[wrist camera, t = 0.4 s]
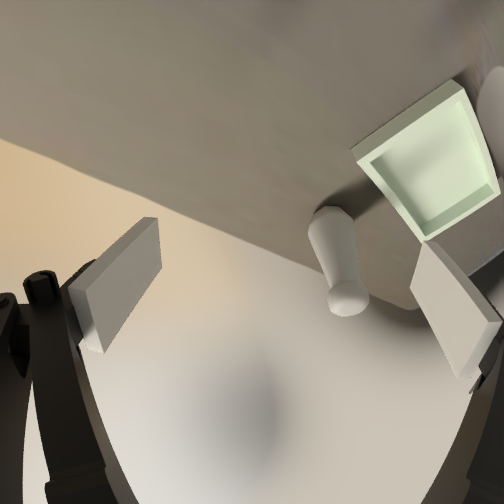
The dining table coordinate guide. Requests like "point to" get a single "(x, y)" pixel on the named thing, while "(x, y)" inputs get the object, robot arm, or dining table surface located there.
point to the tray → (431, 161)
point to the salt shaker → (339, 259)
